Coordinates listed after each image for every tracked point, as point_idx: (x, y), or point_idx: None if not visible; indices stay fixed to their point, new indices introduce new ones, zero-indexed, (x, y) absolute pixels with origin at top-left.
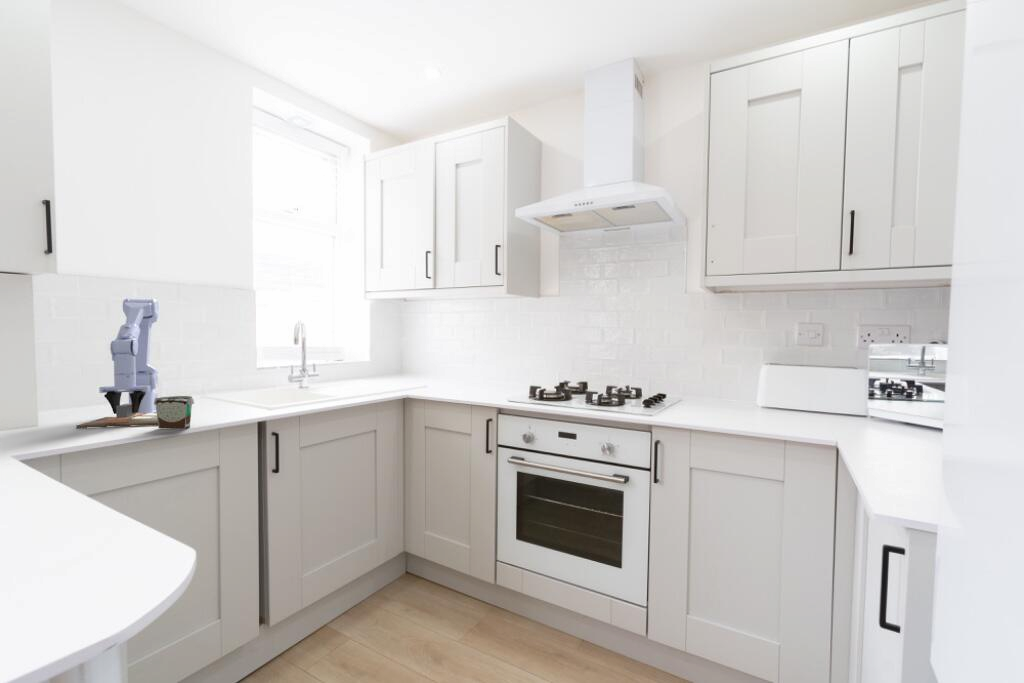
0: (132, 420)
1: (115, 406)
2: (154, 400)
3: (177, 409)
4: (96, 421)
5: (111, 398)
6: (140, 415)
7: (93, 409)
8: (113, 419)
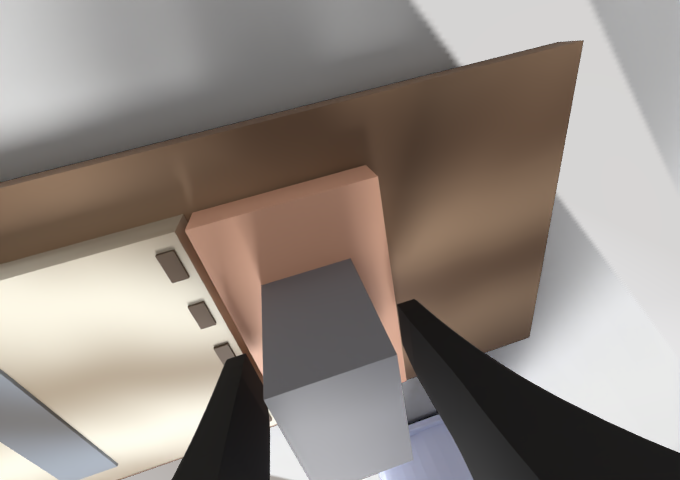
0: (123, 236)
1: (439, 369)
2: None
3: None
4: (506, 220)
5: (548, 464)
6: None
7: (653, 431)
8: (314, 190)
